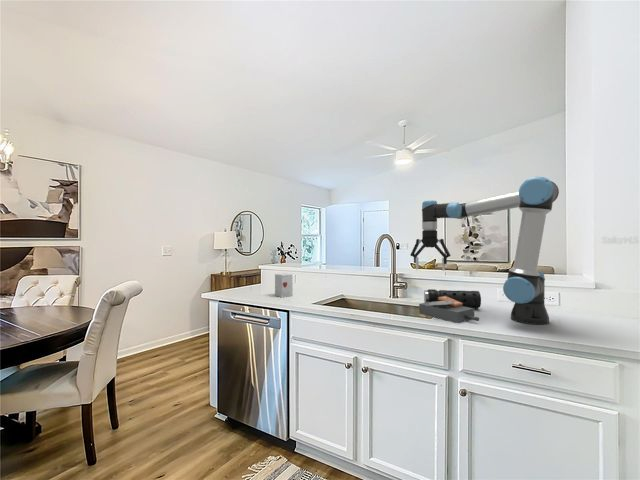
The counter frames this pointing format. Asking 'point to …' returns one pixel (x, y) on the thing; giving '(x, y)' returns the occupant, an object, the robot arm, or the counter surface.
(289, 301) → the counter surface
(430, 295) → the muzzle brake
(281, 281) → the supplement box
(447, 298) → the orange slotted plate
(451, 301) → the light grey flat plate
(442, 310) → the switch module
